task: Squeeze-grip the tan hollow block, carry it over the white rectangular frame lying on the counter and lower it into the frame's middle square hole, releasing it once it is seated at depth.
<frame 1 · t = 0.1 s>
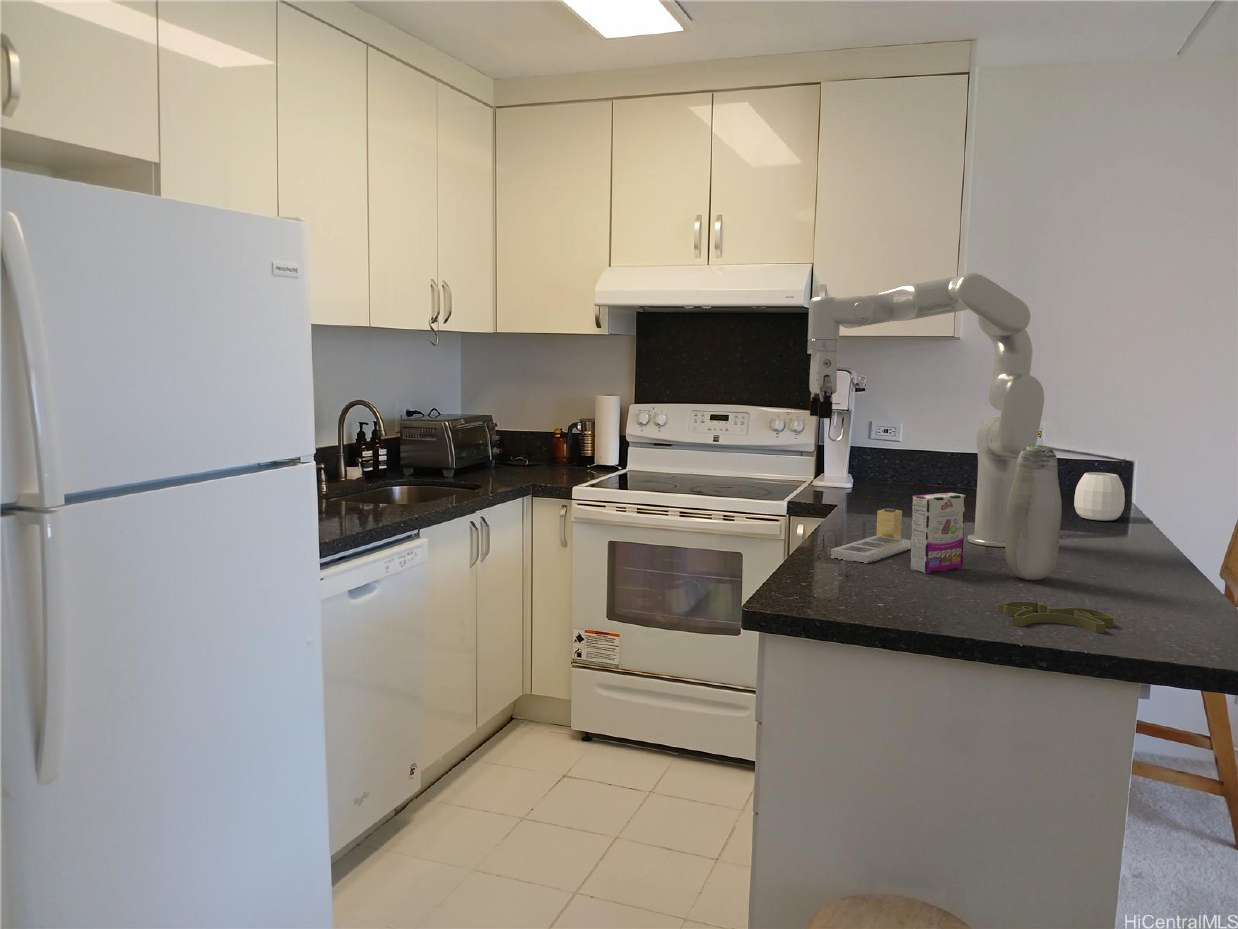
hand: (820, 417, 227), 31 cm above the worktop, tool pointing down, fingers open, 9 cm apart
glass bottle: (1029, 579, 191), on the worktop
white faceted vase: (1097, 520, 270), on the worktop
tan hollow block: (888, 542, 230), on the worktop
cookie cutter: (1053, 624, 159), on the worktop
candy bar box: (935, 570, 199), on the worktop
white rectangular frame: (871, 553, 215), on the worktop
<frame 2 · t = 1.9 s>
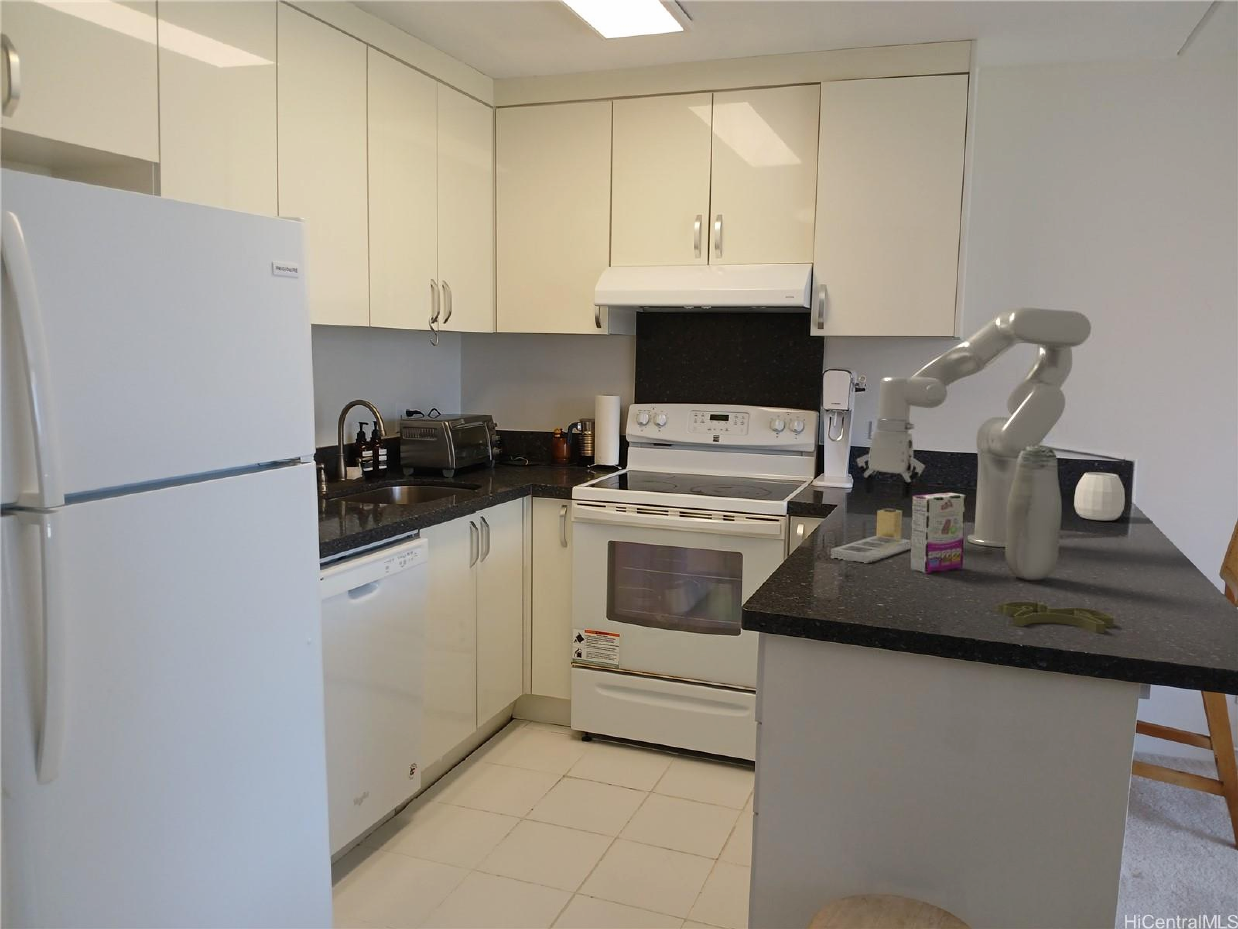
hand: (887, 495, 228), 12 cm above the worktop, tool pointing down, fingers open, 9 cm apart
nothing on the worktop moved.
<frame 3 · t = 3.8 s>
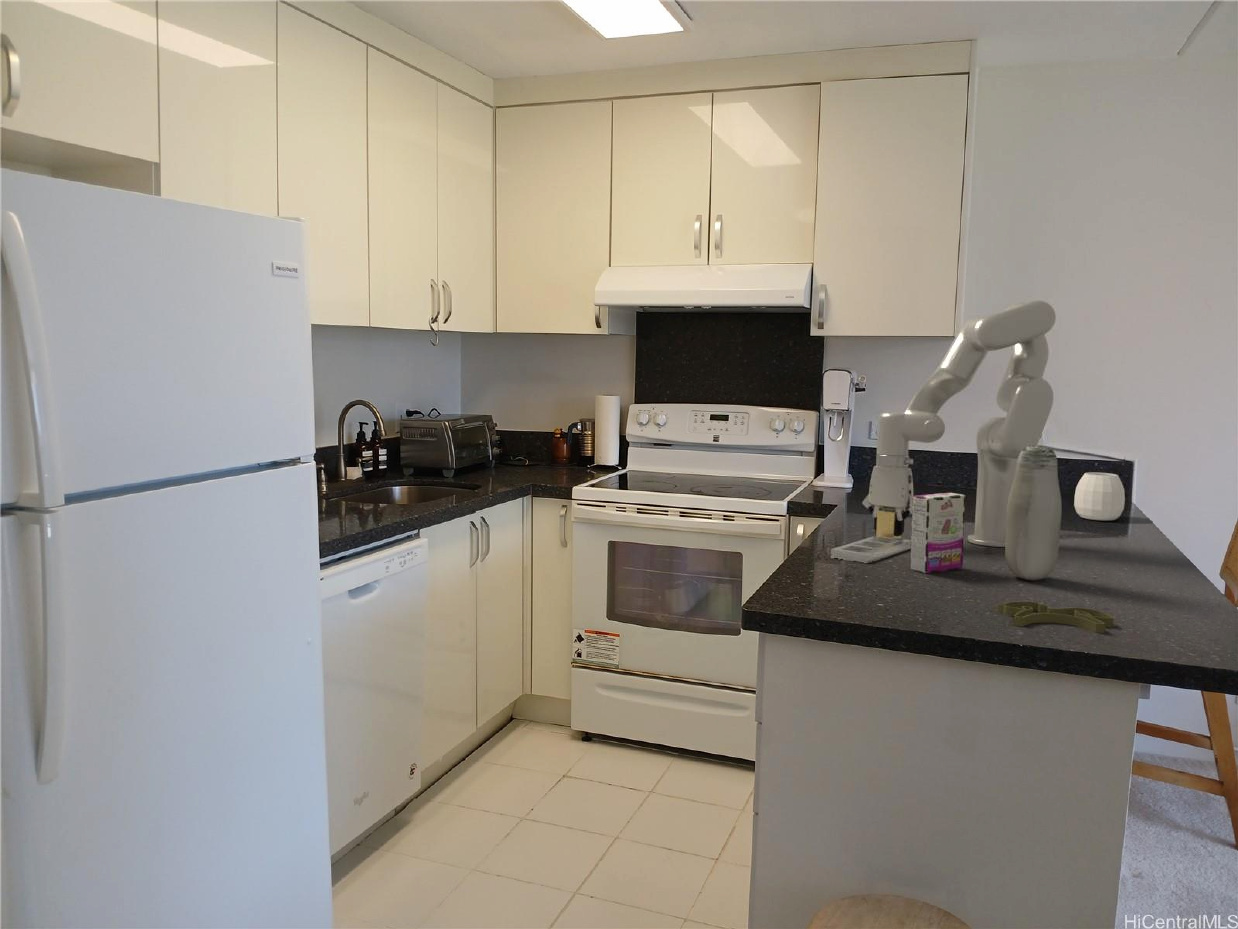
hand: (888, 533, 229), 2 cm above the worktop, tool pointing down, fingers closed on tan hollow block, 4 cm apart
tan hollow block: (888, 542, 230), on the worktop, touching gripper
everything else where it was.
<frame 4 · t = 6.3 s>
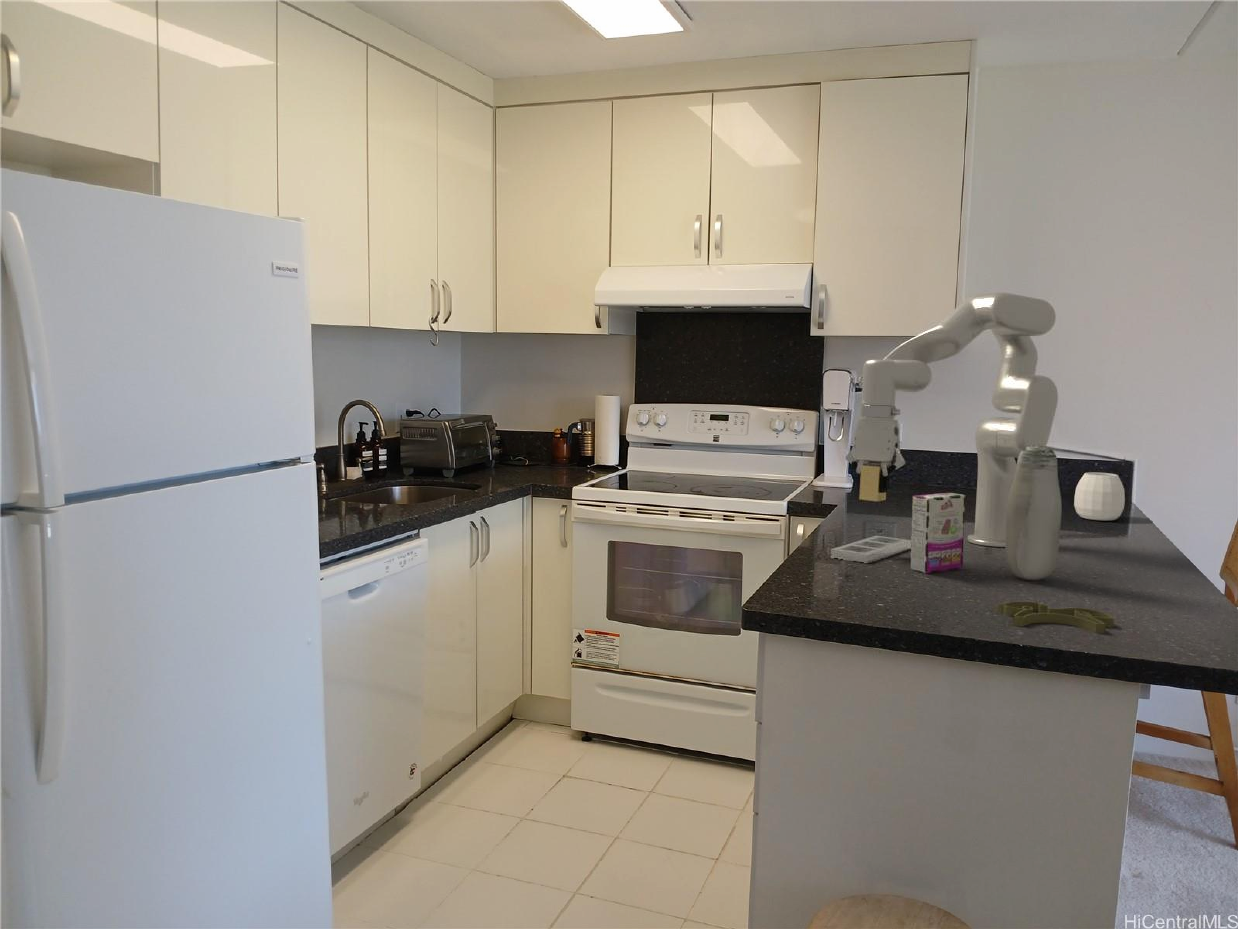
hand: (873, 490, 214), 15 cm above the worktop, tool pointing down, fingers closed on tan hollow block, 4 cm apart
tan hollow block: (872, 499, 214), point 13 cm above the worktop, touching gripper
everything else where it was.
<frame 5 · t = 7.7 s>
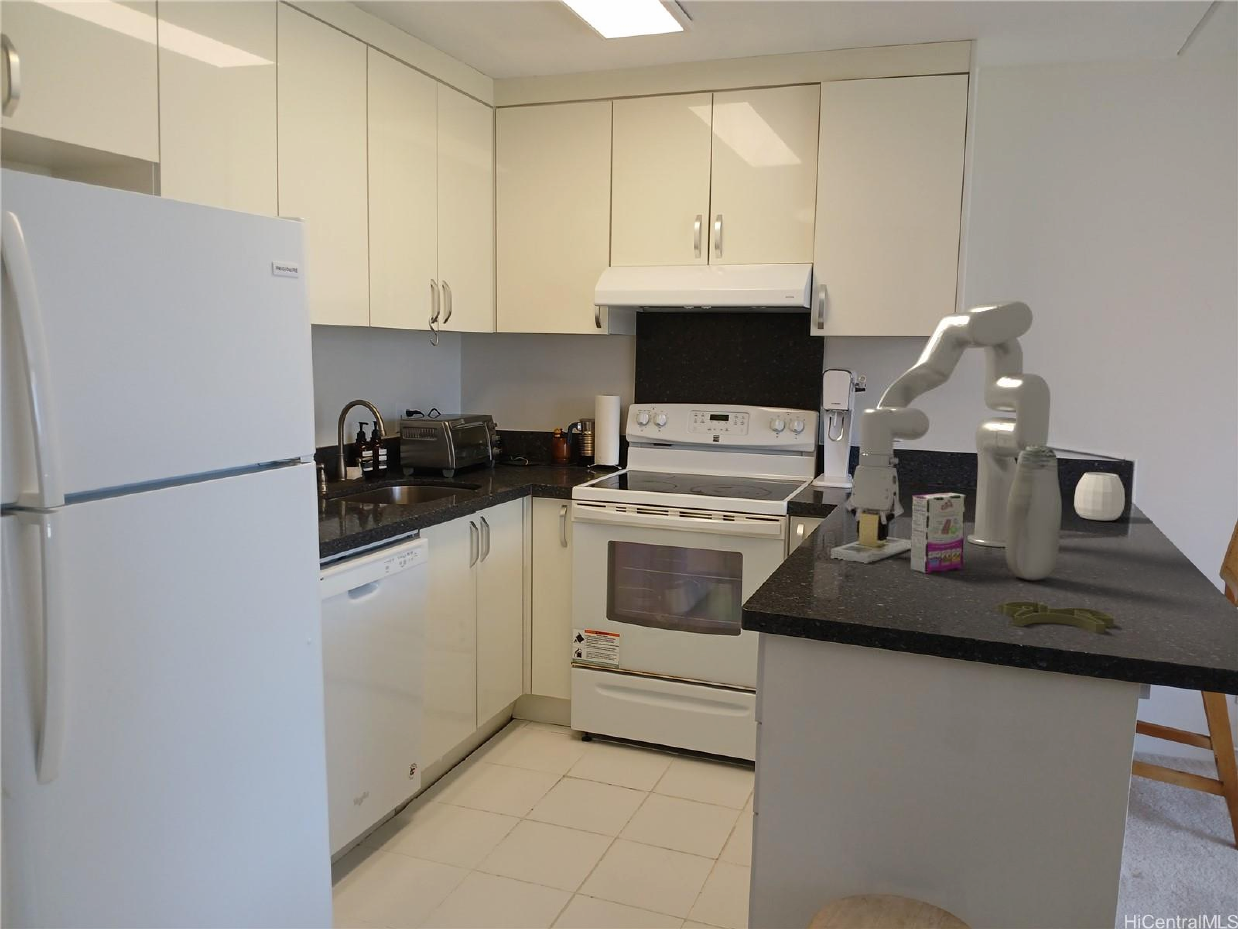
hand: (872, 537, 215), 4 cm above the worktop, tool pointing down, fingers closed on tan hollow block, 4 cm apart
tan hollow block: (871, 546, 215), point 1 cm above the worktop, touching gripper
everything else where it was.
when the fingers open (3 cm above the worktop, at t = 8.7 s): tan hollow block drops 1 cm, resting in white rectangular frame.
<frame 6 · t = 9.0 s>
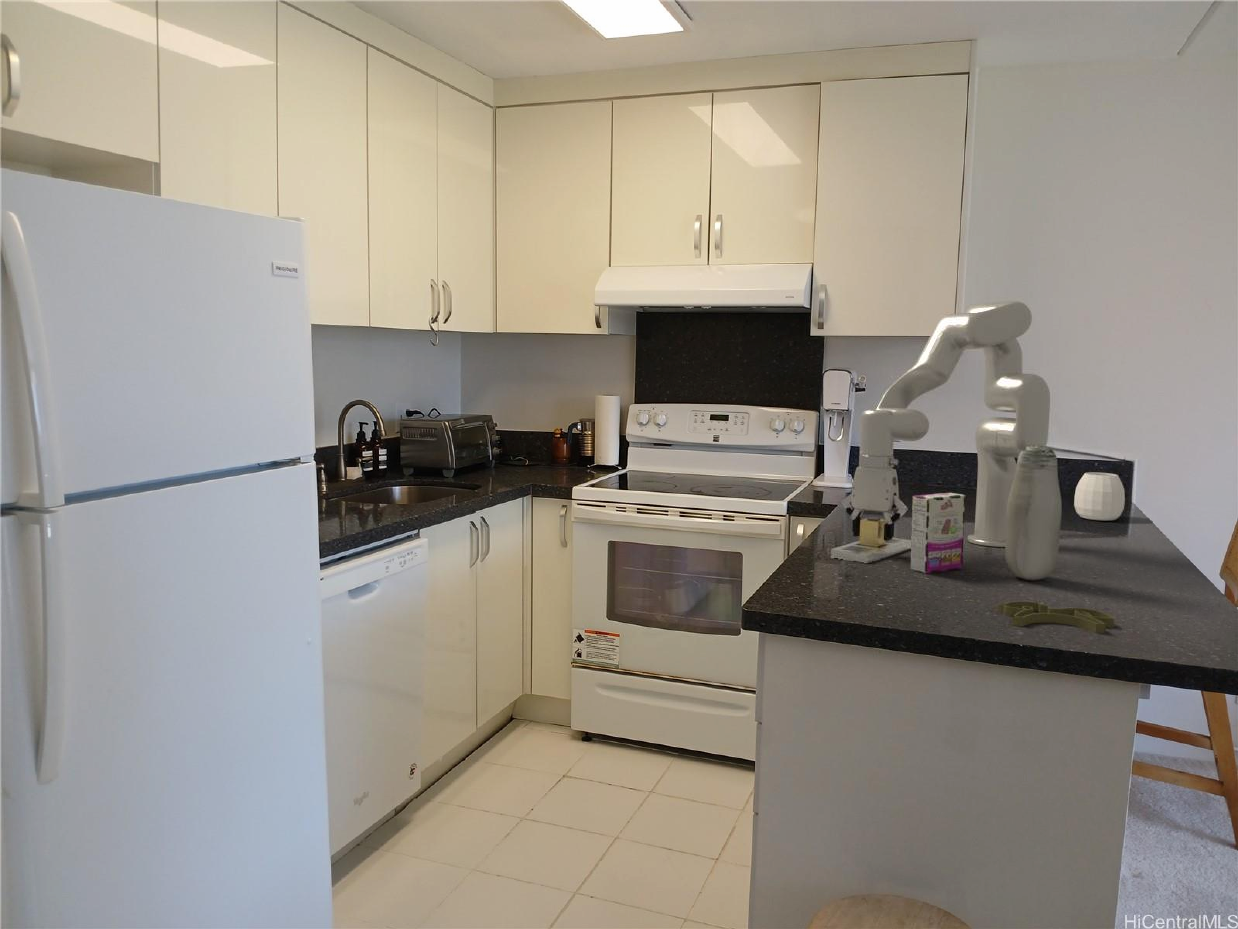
hand: (872, 537, 215), 4 cm above the worktop, tool pointing down, fingers open, 7 cm apart
tan hollow block: (872, 553, 215), resting in white rectangular frame
everything else where it was.
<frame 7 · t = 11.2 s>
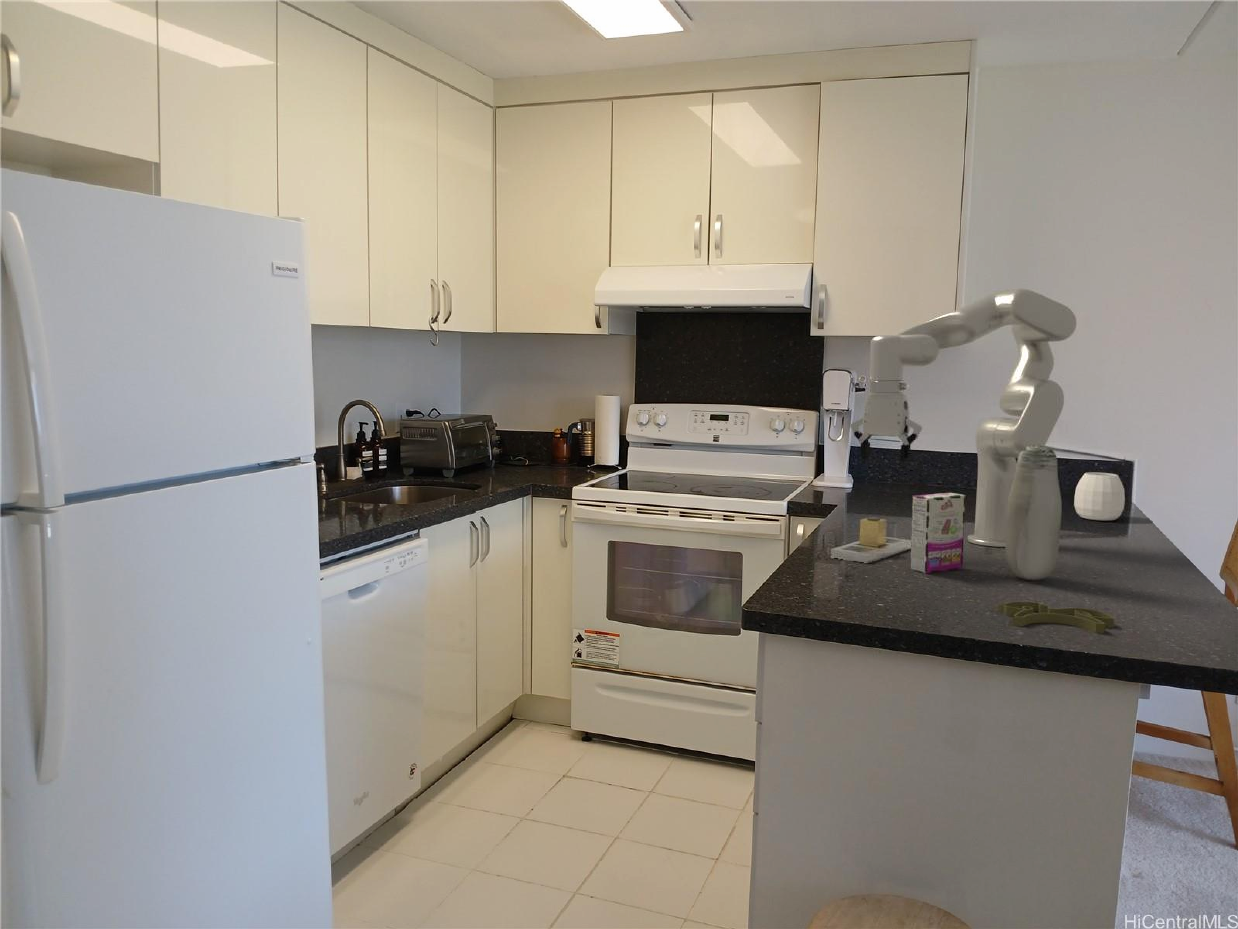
hand: (884, 460, 218), 22 cm above the worktop, tool pointing down, fingers open, 9 cm apart
nothing on the worktop moved.
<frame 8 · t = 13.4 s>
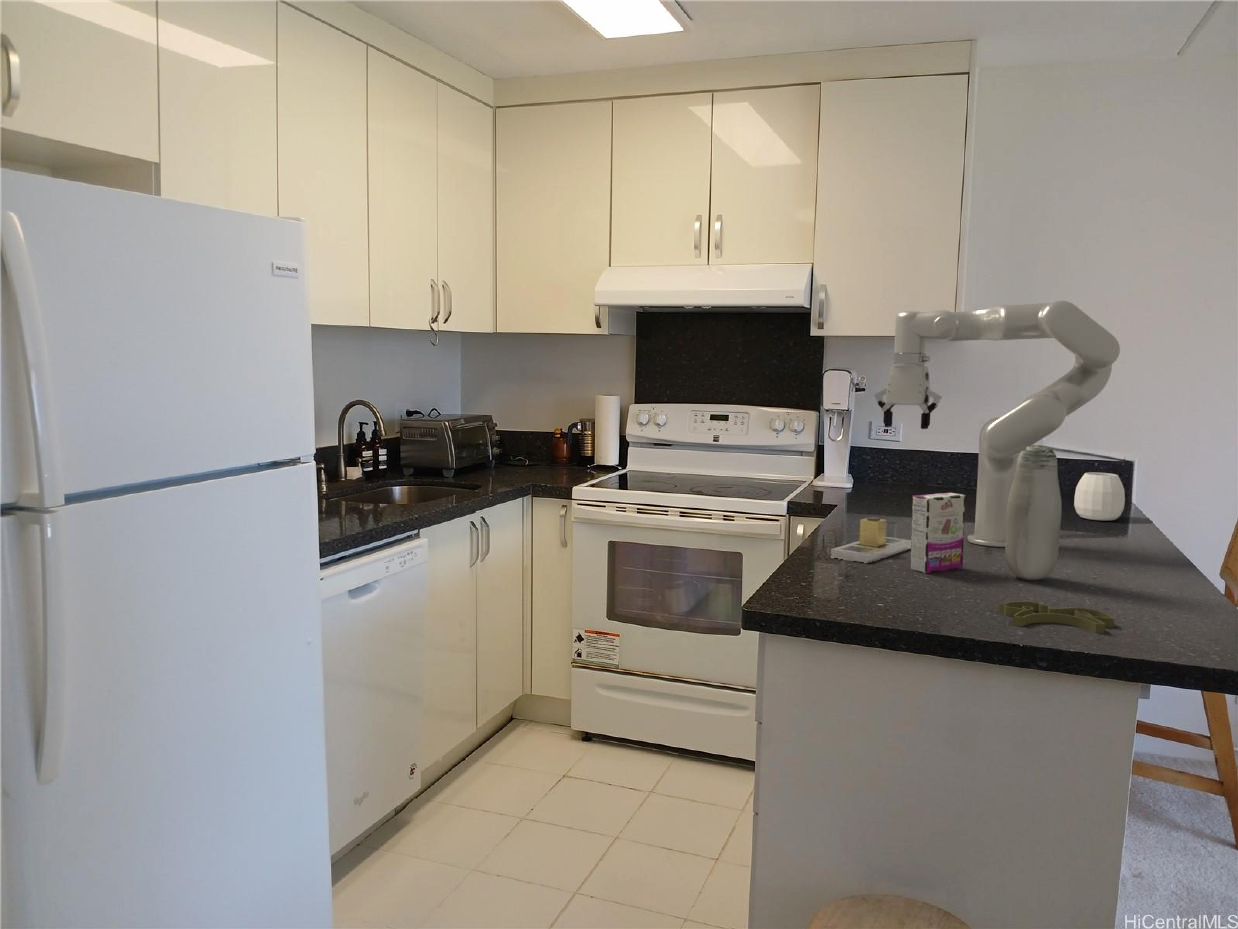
hand: (906, 427, 235), 28 cm above the worktop, tool pointing down, fingers open, 9 cm apart
nothing on the worktop moved.
at the end: tan hollow block 0.1 cm off-centre on the white rectangular frame, point 0.0 cm above the white rectangular frame's base; tan hollow block tilted 0°; the gripper is holding nothing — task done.
